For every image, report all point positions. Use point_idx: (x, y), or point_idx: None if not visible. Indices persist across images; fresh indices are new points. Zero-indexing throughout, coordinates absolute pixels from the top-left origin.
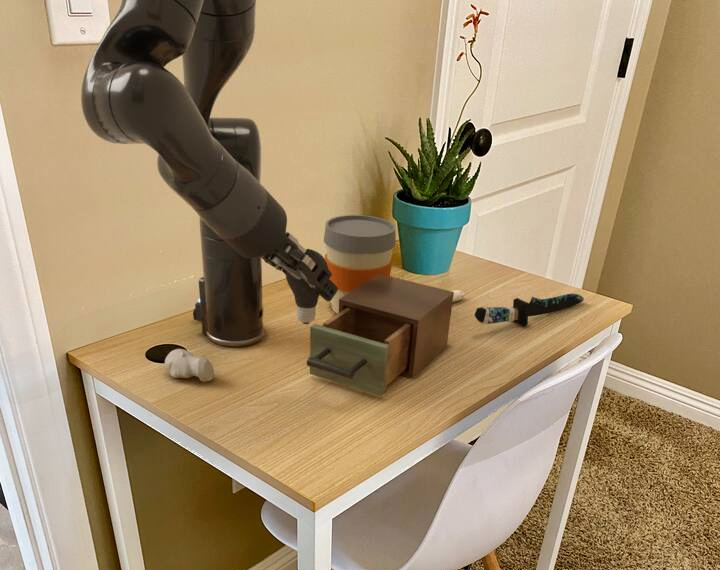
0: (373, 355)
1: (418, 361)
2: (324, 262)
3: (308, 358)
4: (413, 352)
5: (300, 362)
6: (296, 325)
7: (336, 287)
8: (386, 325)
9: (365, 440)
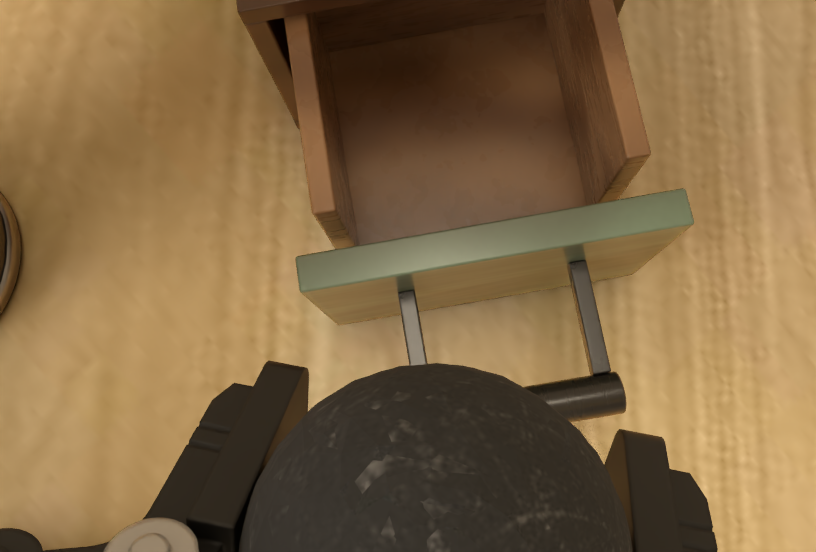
0: (623, 247)
1: None
2: (599, 505)
3: None
4: None
5: (235, 254)
6: (42, 53)
7: (665, 452)
8: None
9: (759, 520)
